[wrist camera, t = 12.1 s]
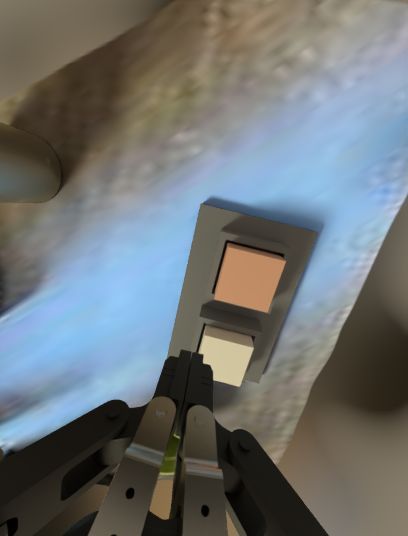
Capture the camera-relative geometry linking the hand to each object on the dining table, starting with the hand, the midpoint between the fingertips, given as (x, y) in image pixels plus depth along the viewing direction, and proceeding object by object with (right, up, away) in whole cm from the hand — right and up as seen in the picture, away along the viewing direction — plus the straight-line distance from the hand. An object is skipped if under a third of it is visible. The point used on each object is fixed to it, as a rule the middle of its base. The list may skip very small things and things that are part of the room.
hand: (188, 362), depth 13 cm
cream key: (+4, -6, +18) cm, 19 cm away
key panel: (+6, +1, +20) cm, 21 cm away
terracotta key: (+6, +5, +14) cm, 16 cm away
